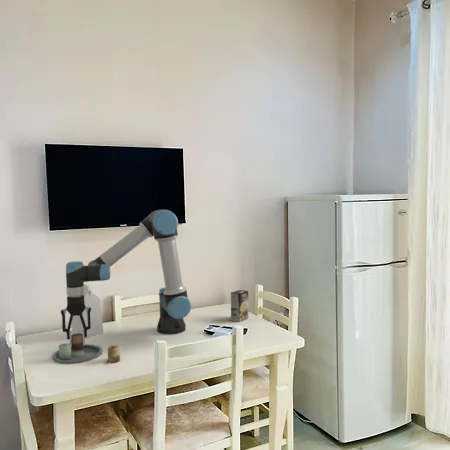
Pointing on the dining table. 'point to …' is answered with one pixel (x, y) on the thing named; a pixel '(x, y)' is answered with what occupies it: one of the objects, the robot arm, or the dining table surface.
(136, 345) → the dining table surface
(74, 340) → the bead
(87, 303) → the milk
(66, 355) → the bead
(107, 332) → the dining table surface
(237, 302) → the coffee box
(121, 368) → the dining table surface
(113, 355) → the bead
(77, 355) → the tray
